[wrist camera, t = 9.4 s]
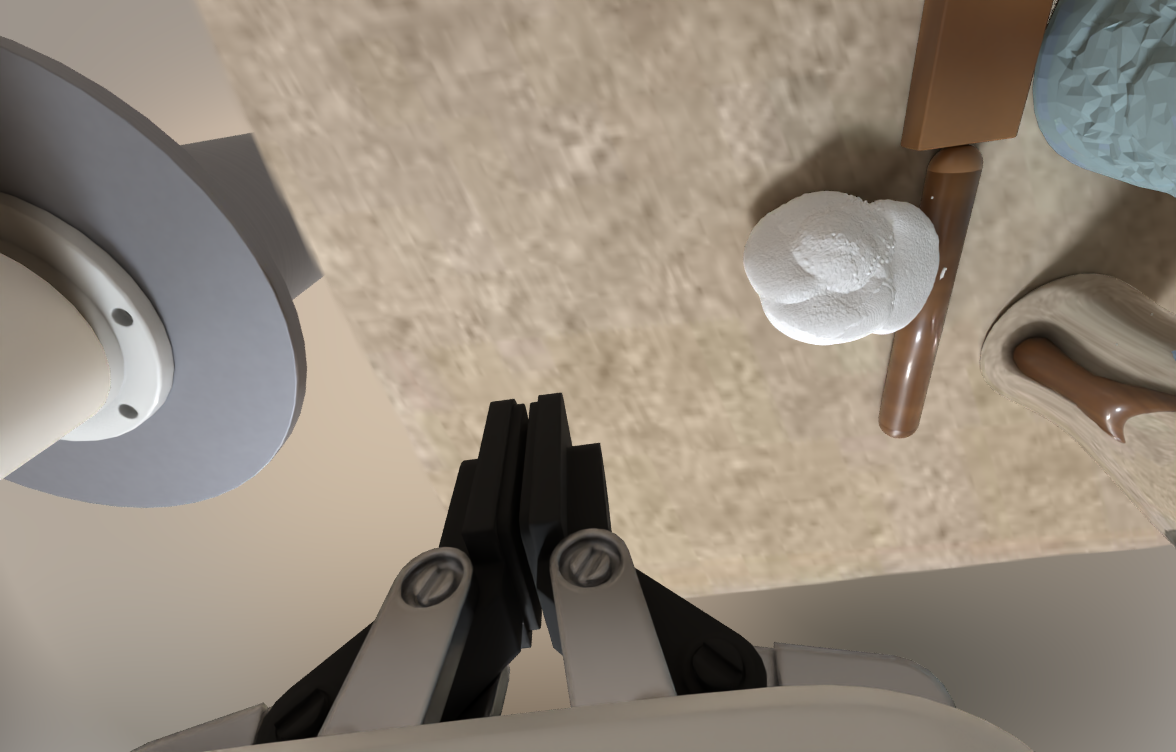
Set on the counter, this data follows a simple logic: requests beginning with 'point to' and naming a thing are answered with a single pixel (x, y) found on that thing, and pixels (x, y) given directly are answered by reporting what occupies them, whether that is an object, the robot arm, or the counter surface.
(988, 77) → the wooden spatula
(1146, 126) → the teal embossed cup
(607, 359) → the counter surface
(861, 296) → the dumpling
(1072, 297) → the chrome tumbler
